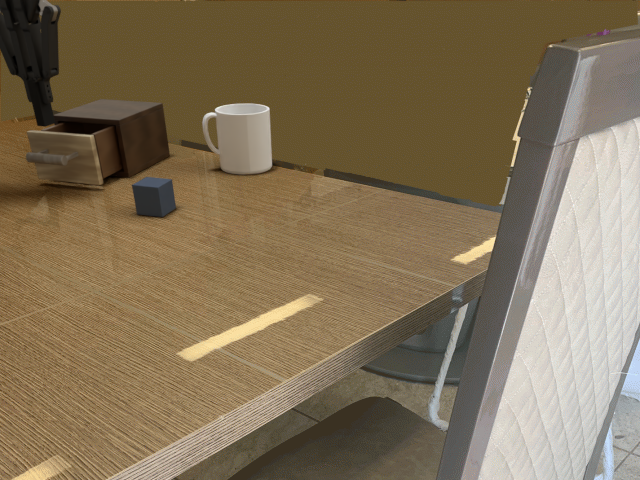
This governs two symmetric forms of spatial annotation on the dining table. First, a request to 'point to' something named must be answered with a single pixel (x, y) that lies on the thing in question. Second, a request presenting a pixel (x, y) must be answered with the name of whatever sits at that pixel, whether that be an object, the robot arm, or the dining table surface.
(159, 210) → the block
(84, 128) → the drawer
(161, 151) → the cabinet
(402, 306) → the dining table surface
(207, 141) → the mug
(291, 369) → the dining table surface
